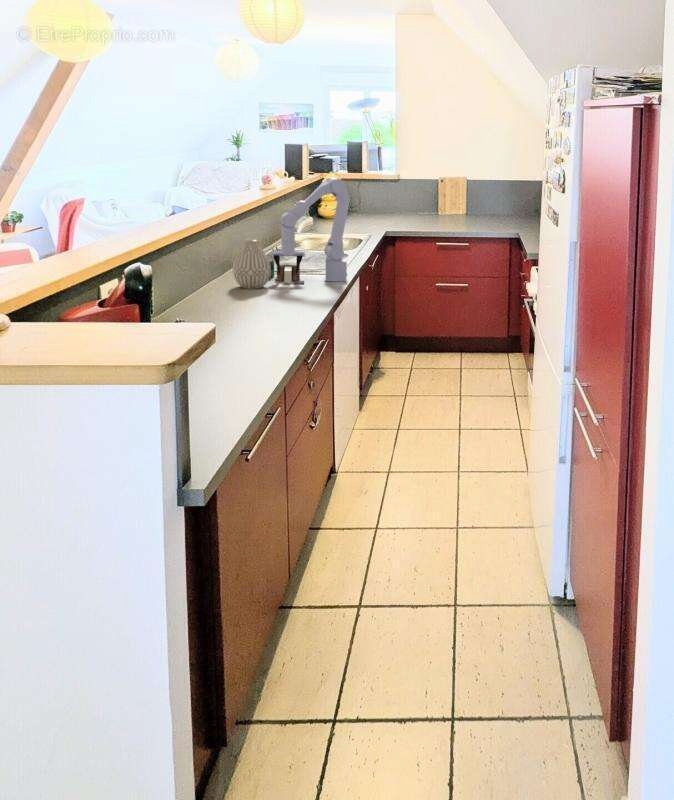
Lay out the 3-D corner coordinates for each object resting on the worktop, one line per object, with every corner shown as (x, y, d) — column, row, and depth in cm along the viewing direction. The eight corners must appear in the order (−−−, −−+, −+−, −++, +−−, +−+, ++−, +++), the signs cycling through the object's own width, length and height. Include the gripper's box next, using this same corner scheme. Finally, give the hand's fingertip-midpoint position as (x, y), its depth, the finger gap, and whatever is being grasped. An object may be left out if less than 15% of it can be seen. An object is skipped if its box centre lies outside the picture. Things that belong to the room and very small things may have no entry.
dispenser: (299, 277, 442) (299, 261, 440) (299, 280, 434) (299, 264, 432) (277, 276, 441) (277, 261, 439) (276, 279, 434) (276, 264, 432)
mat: (304, 281, 430) (304, 280, 430) (304, 284, 424) (304, 283, 424) (292, 281, 429) (292, 280, 429) (292, 284, 424) (292, 283, 424)
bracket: (259, 275, 445) (259, 258, 443) (274, 276, 444) (274, 258, 442) (247, 282, 429) (247, 264, 426) (262, 283, 427) (262, 264, 425)
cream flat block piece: (292, 278, 439) (292, 266, 437) (291, 283, 427) (291, 270, 426) (285, 278, 439) (285, 266, 437) (284, 283, 427) (284, 270, 425)
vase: (256, 292, 405) (255, 243, 399) (225, 288, 413) (224, 240, 407) (278, 286, 418) (278, 239, 412) (247, 282, 426) (247, 236, 420)
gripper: (304, 240, 429) (304, 271, 432) (271, 240, 428) (271, 271, 432) (304, 242, 422) (304, 274, 426) (271, 242, 421) (271, 273, 425)
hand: (287, 272), depth 428 cm, fingers open, 7 cm apart
